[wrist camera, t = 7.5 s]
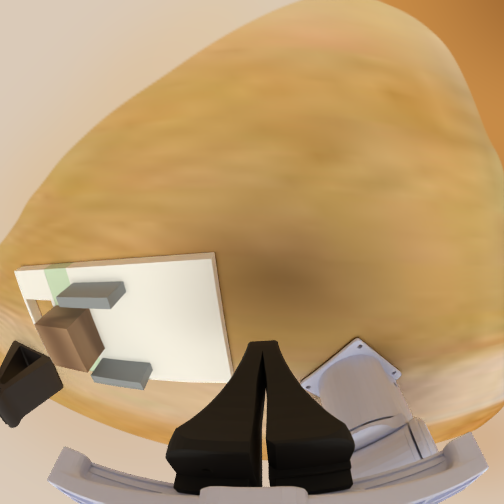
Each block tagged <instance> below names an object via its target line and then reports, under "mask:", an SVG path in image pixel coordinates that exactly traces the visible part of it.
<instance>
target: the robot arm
mask: <svg viewBox="0 0 504 504" xmlns="http://www.w3.org/2000/svg"><path fill="white" fill-rule="evenodd" d="M359 345H361V346H359ZM400 376H401V372H400V371H399V370H398V369H397V368H395V367H394V366H393V365H392V364H390V363H389V362H388V361H387V360H386V359H384V358H383V357H382V356H381V355H379V354H378V353H377V352H376V351H374V350H373V349H372V348H371V347H369V346H368V345H367V344H366V343H364V342H363V341H362V340H361V339H359V338H356V339H354V340H353V341H352V342H350V343H349V344H348V345H347V346H346V347H344V348H343V349H342V350H341V351H340V352H339V353H337V354H336V355H335V356H334V357H332V358H331V359H330V360H329V361H327V362H326V363H325V364H324V365H322V366H321V367H320V368H319V369H317V370H316V371H315V372H313V373H312V374H311V375H309V376H308V377H307V378H305V379H304V380H303V381H301V383H299V382H298V381H297V379H296V378H295V377H294V375H293V374H292V372H291V371H290V369H289V367H288V365H287V364H286V362H285V360H284V358H283V356H282V354H281V351H280V349H279V346H278V342H277V341H276V340H273V341H255V342H250V343H249V344H248V347H247V349H246V352H245V354H244V356H243V358H242V360H241V362H240V364H239V366H238V367H237V369H236V371H235V372H234V374H233V375H232V377H231V378H230V380H229V381H228V383H227V384H226V386H225V387H224V388H223V389H222V391H221V392H220V393H219V394H218V395H217V396H216V397H215V398H214V399H213V400H212V401H211V402H210V403H209V404H208V405H207V406H206V407H205V408H204V409H203V410H202V411H200V412H199V413H198V414H197V415H196V416H194V417H193V418H192V419H190V420H189V421H187V422H186V423H184V424H183V425H181V426H180V427H178V428H176V429H175V431H174V433H173V435H172V437H171V439H170V442H169V445H168V449H167V453H166V459H167V461H168V462H169V464H170V465H171V466H172V468H173V469H174V470H175V472H176V478H175V482H174V484H173V483H167V482H162V481H157V480H152V479H147V478H143V477H139V476H135V475H131V474H127V473H124V472H120V471H116V470H113V469H110V468H107V467H104V466H101V465H98V464H95V463H92V462H91V461H90V459H89V458H88V457H86V456H85V455H84V454H82V453H80V452H78V451H75V450H73V449H70V448H68V447H64V448H63V450H62V452H61V454H60V455H59V457H58V459H57V461H56V463H55V465H54V467H53V469H52V471H51V473H50V475H49V477H48V479H47V480H48V482H49V483H51V484H52V485H53V486H54V487H56V488H57V489H58V490H60V491H61V492H63V493H64V494H65V495H67V496H68V497H70V498H71V499H72V500H74V501H75V502H78V503H80V504H438V503H440V502H442V501H444V500H445V499H447V498H449V497H451V496H453V495H455V494H457V493H459V492H461V491H462V490H463V489H465V488H466V487H467V486H469V485H470V484H471V483H472V482H474V481H475V480H476V479H477V478H478V477H479V476H480V475H482V474H483V473H484V472H485V471H486V470H487V469H488V467H489V466H488V465H487V463H486V460H485V458H484V456H483V454H482V452H481V450H480V448H479V446H478V445H477V442H476V440H475V438H474V437H473V435H472V433H471V432H468V433H466V434H464V435H462V436H460V437H458V438H456V439H454V440H452V441H451V442H449V443H448V444H447V445H446V446H445V448H444V449H443V451H440V452H438V449H437V447H436V445H435V443H434V440H433V438H432V436H431V434H430V432H429V430H428V428H427V426H426V424H425V422H424V421H423V419H417V418H416V417H414V418H413V417H412V413H411V411H410V409H409V407H408V405H407V402H406V400H405V398H404V396H403V394H402V392H401V390H400V388H399V386H398V384H397V382H396V380H397V379H398V378H399V377H400ZM304 389H305V390H307V391H309V392H311V393H313V394H314V395H316V396H318V397H320V399H321V404H322V407H321V406H320V405H319V404H318V403H317V402H316V401H315V400H314V399H313V398H312V397H311V396H310V395H309V394H308V393H307V392H306V391H305V390H304ZM265 390H266V393H267V424H266V445H267V454H268V463H269V481H270V487H262V420H263V411H264V401H265Z"/></svg>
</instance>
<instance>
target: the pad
mask: <svg viewBox="0 0 504 504" xmlns="http://www.w3.org/2000/svg"><path fill="white" fill-rule="evenodd" d="M73 263H74V262H73ZM71 264H72V263H60V264H51V265H50V266H48V267H47V268H45V269H44V272H45V275H46V278H47V281H48V284H49V287H50V290H51V293H52V296H53V299H54V302H55V304H56V305H58V302H57V299H56V296H57V295H59V294H60V293H61V292H62V291H64V290H65V289H66V288H67V287H69V286H70V282H69V278H68V275H67V272H66V267H68V266H69V265H71ZM100 361H101V360H100V358H99V357H98V359H97V360H96V362H95V363H94V364H93V366H92V367H91V369H90V370H89V371H94V370H95V368H96V367H97V365H98V364H99V362H100Z"/></svg>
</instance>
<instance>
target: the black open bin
mask: <svg viewBox="0 0 504 504" xmlns="http://www.w3.org/2000/svg"><path fill="white" fill-rule="evenodd" d="M62 388H63V385H62V383H61V381H60V379H59V376H58V374H57V372H56V369H55V367H54V364H53V362H52V360H51V358H50V357H48V356H46V355H44V354H41V353H39V352H37V351H35V350H31V348H29V347H27V346H25V345H23V344H21V343H19V342H17V341H14V342H13V343H12V345H11V347H10V349H9V351H8V353H7V355H6V357H5V359H4V361H3V363H2V365H1V367H0V417H1V418H2V420H3V421H4V422H5V424H8V425H9V427H11V428H13V427H16V426H18V425H19V423H20V421H21V419H22V418H23V417H24V416H25V415H26V414H28V413H29V412H31V411H32V410H33V409H35V408H36V407H37V406H39V405H40V404H42V403H43V402H44V401H46V400H47V399H49V398H50V397H51V396H53V395H54V394H55V393H57V392H58V391H60V390H61V389H62Z"/></svg>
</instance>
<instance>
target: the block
mask: <svg viewBox="0 0 504 504" xmlns="http://www.w3.org/2000/svg"><path fill="white" fill-rule="evenodd" d="M34 325H35V327H36V329H37V332H38V334H39V336H40V338H41V340H42V342H43V344H44V346H45V348H46V350H47V352H48V354H49V356H50V358H51V360H52V362H53V363H54V365H57V366H61V367H65V368H69V369H74V370H78V371H83V372H87V373H88V371H89V370H90V369H91V367H92V366H93V364H94V363H95V362H96V360H97V359H98V357H99V356H100V355H101V353H102V352H103V350H104V349H105V347H104V345H103V343H102V340H101V338H100V335H99V333H98V330H97V328H96V325H95V323H94V320H93V318H92V315H91V312H90V309H89V308H67V307H59V305H55V306H54V307H53V308H52V309H51V310H50V311H49V312H47V313H46V314H45V315H44V316H43V317H42V318H41V319H40V320H38V321H37V322H36V323H35V324H34Z"/></svg>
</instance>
